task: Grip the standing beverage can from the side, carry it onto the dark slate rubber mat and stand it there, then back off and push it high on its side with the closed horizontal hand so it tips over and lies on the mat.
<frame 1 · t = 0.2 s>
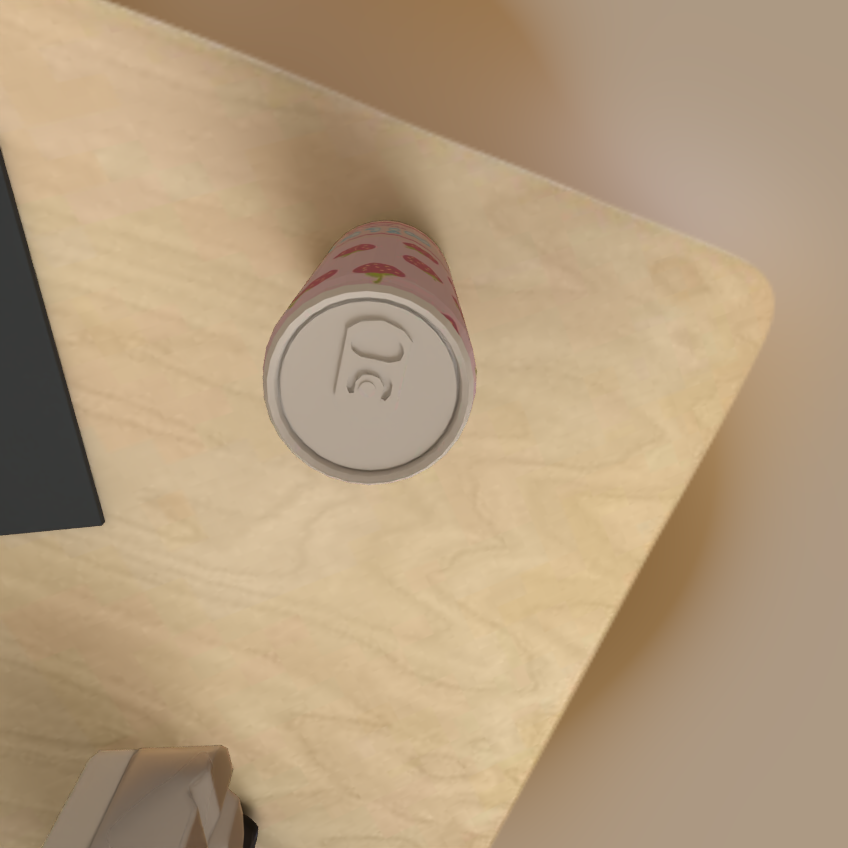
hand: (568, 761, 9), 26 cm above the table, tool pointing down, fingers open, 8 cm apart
beverage can: (386, 285, 33), on the table
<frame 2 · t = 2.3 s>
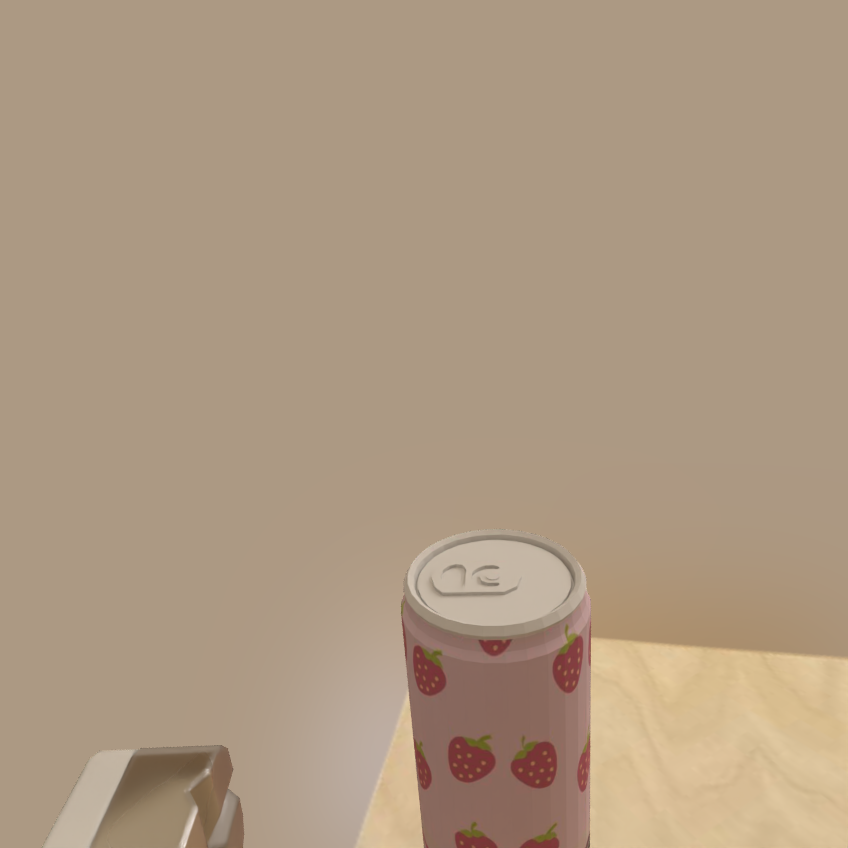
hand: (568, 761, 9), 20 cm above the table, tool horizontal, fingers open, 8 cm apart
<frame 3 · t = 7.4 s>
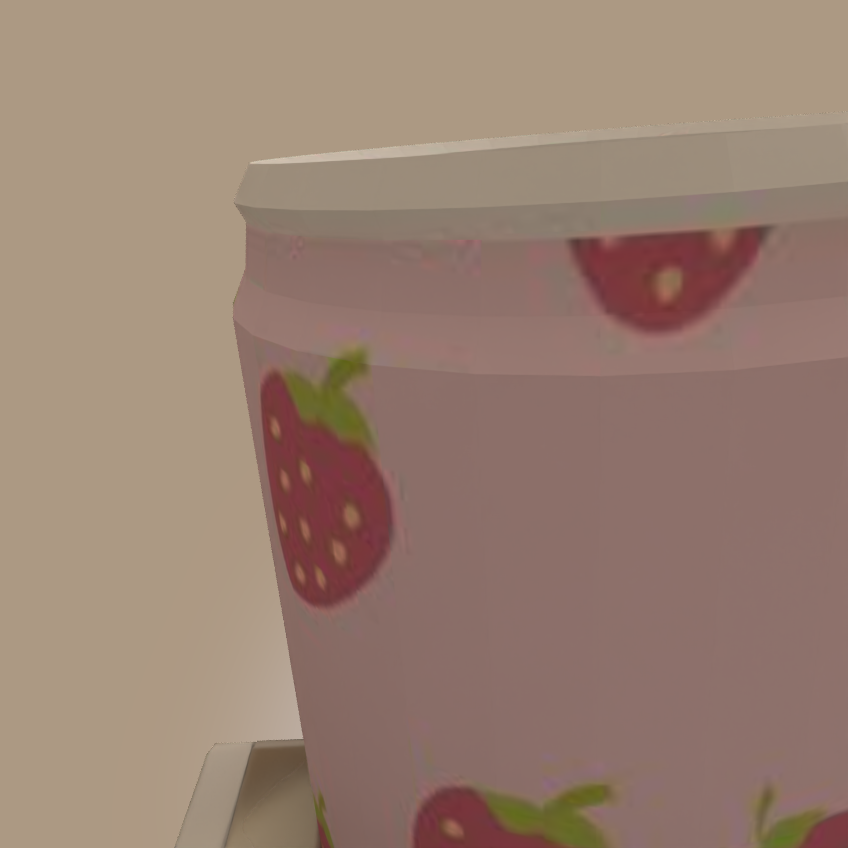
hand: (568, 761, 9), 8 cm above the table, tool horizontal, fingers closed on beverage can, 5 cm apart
when the fingers open (8 cm above the table, at t = 15.3 s): beverage can stays where it is, resting on mat.
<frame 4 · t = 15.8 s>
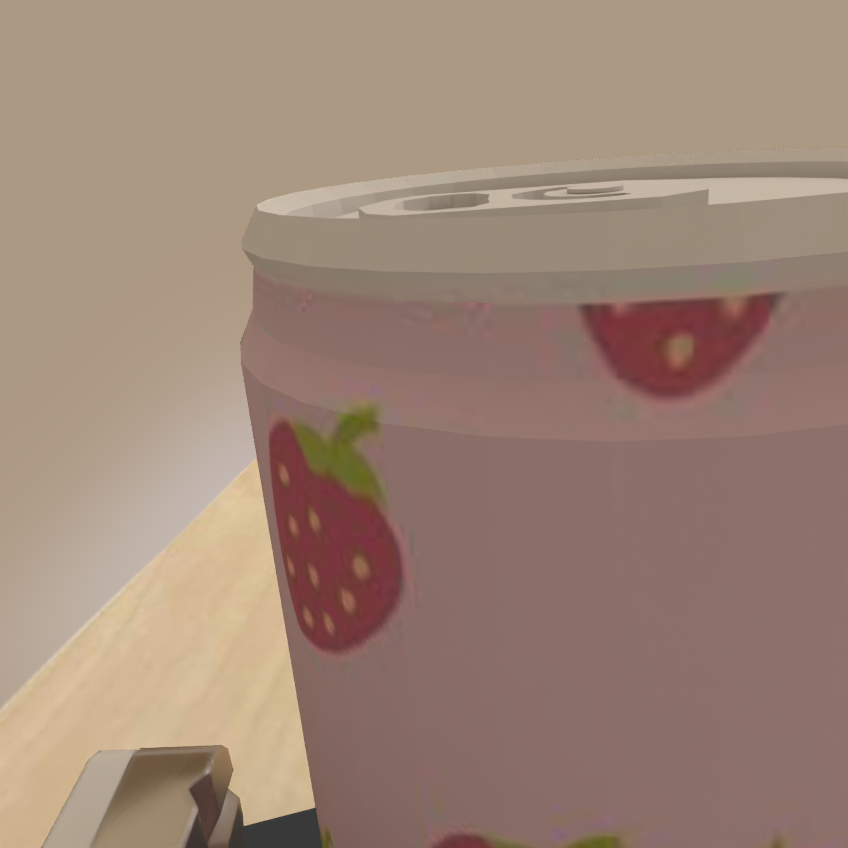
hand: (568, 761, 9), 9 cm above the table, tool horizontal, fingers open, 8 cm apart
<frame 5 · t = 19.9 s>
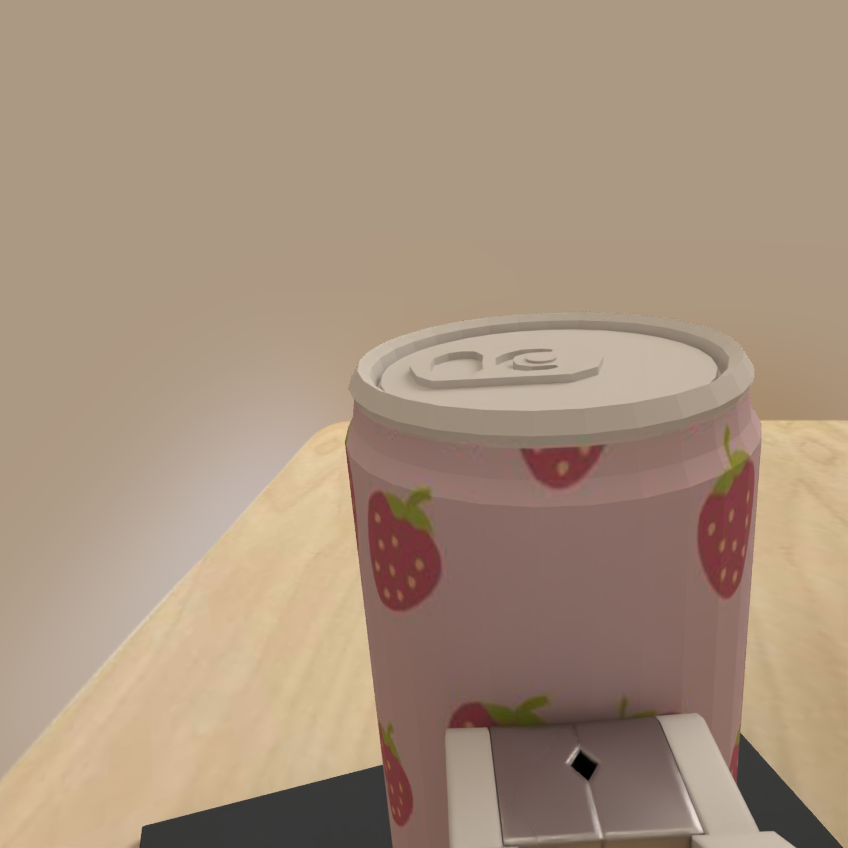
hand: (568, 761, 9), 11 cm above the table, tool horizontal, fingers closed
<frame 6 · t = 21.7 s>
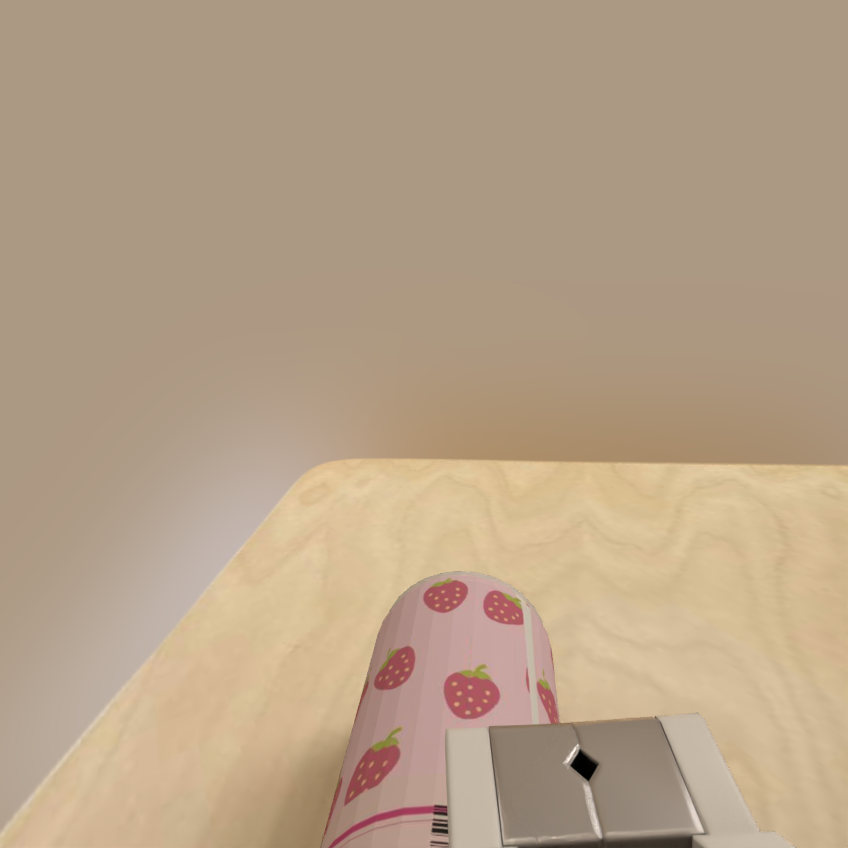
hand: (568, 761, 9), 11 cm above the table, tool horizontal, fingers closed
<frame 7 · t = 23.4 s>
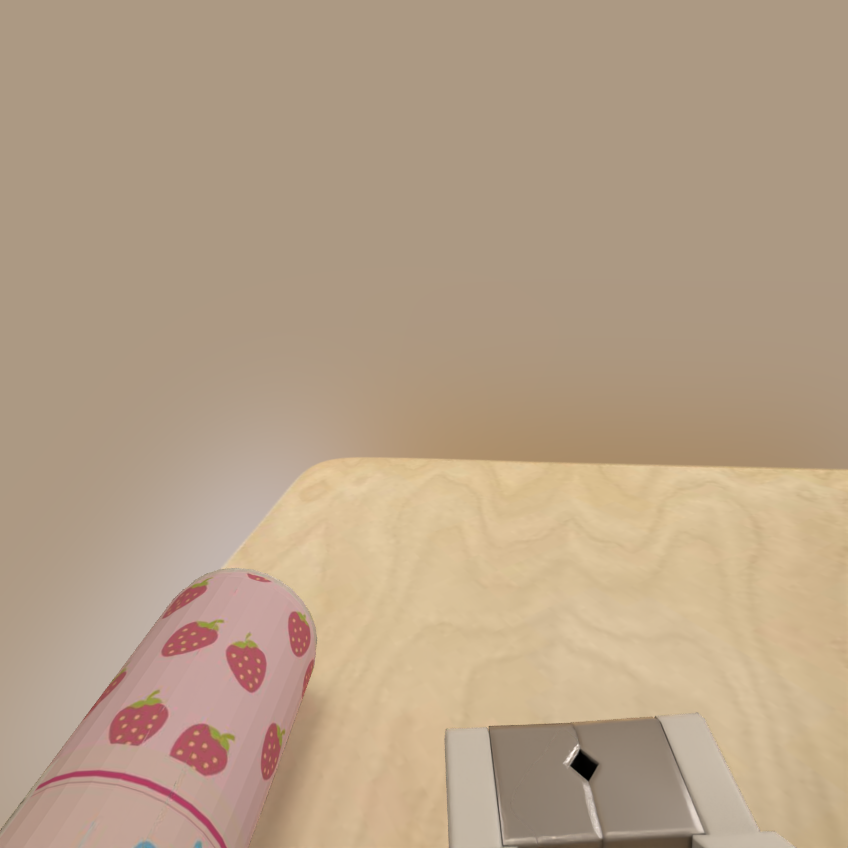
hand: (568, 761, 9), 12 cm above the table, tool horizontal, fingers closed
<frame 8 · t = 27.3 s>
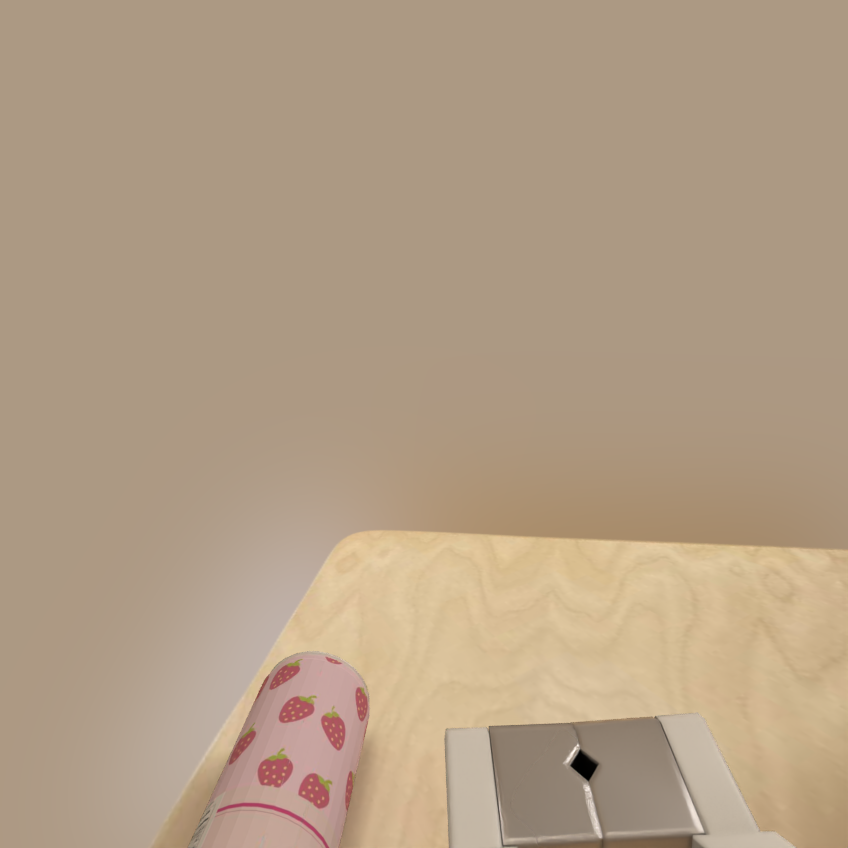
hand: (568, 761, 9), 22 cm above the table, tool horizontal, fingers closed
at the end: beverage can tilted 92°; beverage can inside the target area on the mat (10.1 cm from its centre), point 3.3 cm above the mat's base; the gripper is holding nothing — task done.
